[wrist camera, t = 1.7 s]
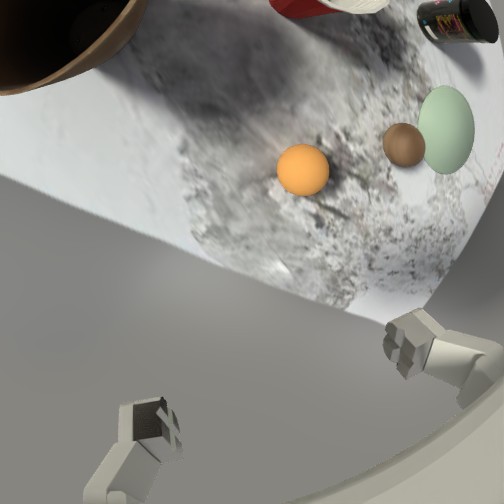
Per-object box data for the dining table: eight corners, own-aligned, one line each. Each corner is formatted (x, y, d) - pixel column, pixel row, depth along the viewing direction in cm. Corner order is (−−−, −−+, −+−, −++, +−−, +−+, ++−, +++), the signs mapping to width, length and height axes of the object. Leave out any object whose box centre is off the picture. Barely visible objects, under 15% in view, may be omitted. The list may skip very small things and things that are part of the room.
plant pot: (183, 64, 25) (179, 26, 12) (57, 116, 25) (-31, 138, 11) (155, -42, 18) (140, -122, 4) (34, 12, 17) (-44, -20, 3)
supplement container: (450, 26, 26) (502, 24, 17) (438, 52, 28) (493, 53, 19) (422, -5, 23) (474, -15, 14) (408, 20, 26) (463, 12, 17)
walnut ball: (404, 118, 33) (432, 124, 28) (408, 157, 35) (435, 167, 31) (371, 123, 32) (398, 129, 27) (376, 165, 35) (402, 176, 30)
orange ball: (311, 136, 32) (333, 143, 27) (320, 180, 35) (341, 194, 30) (265, 148, 32) (280, 156, 27) (277, 193, 34) (292, 209, 30)
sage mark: (470, 85, 31) (470, 85, 31) (474, 165, 38) (475, 166, 38) (411, 87, 30) (412, 87, 30) (420, 181, 38) (421, 182, 37)
